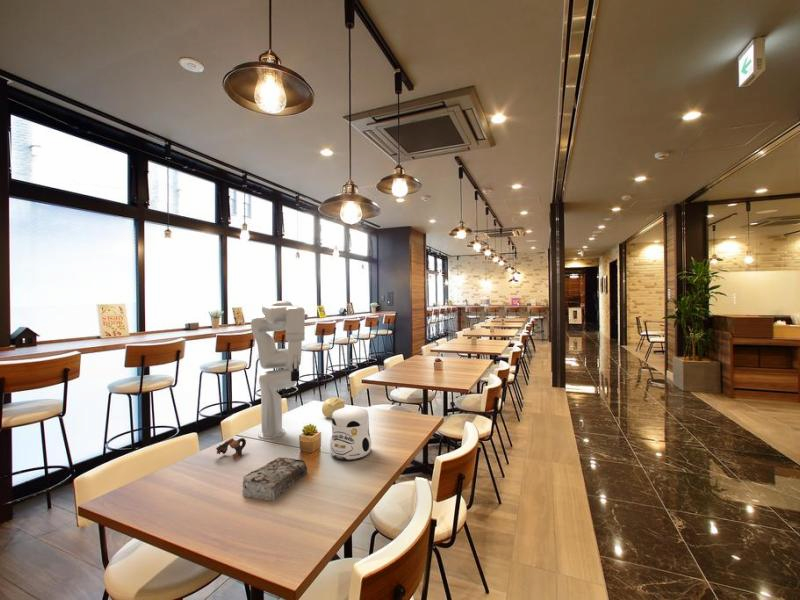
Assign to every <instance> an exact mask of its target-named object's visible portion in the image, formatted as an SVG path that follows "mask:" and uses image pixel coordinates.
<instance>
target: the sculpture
mask: <svg viewBox="0 0 800 600" xmlns="http://www.w3.org/2000/svg"><path fill="white" fill-rule="evenodd" d="M345 404H346V403H345V401H344V400H343V399H342V398H339V397H336V396H333V397H330V398H327V399H326V400H325V401H324V402H323V404H322V407H321V412H322V415H323V416H324V417H325V418H327V419H332V415H333V412H334V411H336V410H338V409H342V408H345V407H346V406H345Z"/></svg>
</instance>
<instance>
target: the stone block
mask: <svg viewBox="0 0 800 600" xmlns="http://www.w3.org/2000/svg"><path fill="white" fill-rule="evenodd" d="M307 473H308V467H307V465H306V462H305V460H302V459H296V458H288V457H282V456H279V457H277V458H275V459H274V460H271V461H270V462H268V463H266V464H265V465H263V466H261V467H259V468H257V469H255V470H253V471H250V472H249V473H248V474H245V475H244V476H243V477H242V478H243V480H242V489H241V492H242V496H243V497H248V498H254V499H258V500H259V499H260V500H262V501H274V500H276V499H278V497H280V496H281V495H283V494H284V493H285V492H286V491H287V490H289V489H290V488H291V487H292V486H293V485H295V484H296V483H297V482H299V480H300V479H301V478H303V477H304V476H305V475H306V474H307Z"/></svg>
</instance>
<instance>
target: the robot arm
mask: <svg viewBox="0 0 800 600" xmlns="http://www.w3.org/2000/svg"><path fill="white" fill-rule="evenodd" d="M305 312H306V311H305V309H304V307H301V306H298V305H293V304H292V302H291V301H288V300H271V301H267V302H265V303H264V304H263V305H262V308H261V313H262V315H257V316H254V317H253V318H252V319H251V321H250V327H251V333H252V335H253V337H254V339H255V341H256V345H257V351H258V352H257V353H258V360H259V364H260V367H261V368H262V369H264V370H266V371H264V372H262V373H261V374H260V375H259V377H258V383H259V389H260V400H261V405H260V407H261V409H260V410H261V411H260V413H261V431H259V432H258V435H257V436H258V438H259V439H261V440H272V439H278V438H281V437H282V436H284V435H285V434H286V429H285V428H283V407H282V406H283V403H282V402H283V399H282V396H281V395H280V394H279V392H277V391H278V390H283V389H290V388H292V387H295V385H296V382H299V381H300V370H299V369H300V368H299V367H300V365H301V364H302V363H301V362H302V342H303V341H305V340H306V339H305V334H306V332H305V321H306V320H305V318H306V316H305V315H306V314H305ZM280 331H281V332H282V331H285V341H286V342H287V343H288V344H287V348H276V347H277V346H276V341H275V339H274V337H272V335H270V334H269V333H268V332H280ZM279 368H282V369H279ZM270 369H272V370H270ZM273 369H274V370H273ZM267 370H268V371H267Z"/></svg>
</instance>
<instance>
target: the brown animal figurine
mask: <svg viewBox="0 0 800 600" xmlns="http://www.w3.org/2000/svg"><path fill="white" fill-rule="evenodd" d="M246 444H247V440H246V439H245V438H244V437H241V438H238V439H237V440H235V439H234V438H233V437H232V438H231V437H230V439H228V440H227V441H225V442H223V443H222V444H219V445H218V446H217V447H216V448H215V449H216V455H217V454H218V455H221V453H222V455H225V454H227V451H228V447H229V446H230V448H231V449H233V450H235V452H234V453H233V454H232V458H233V460H237V459H239V458H240V457H242V456H243V449H244V448H245V447H246Z"/></svg>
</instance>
